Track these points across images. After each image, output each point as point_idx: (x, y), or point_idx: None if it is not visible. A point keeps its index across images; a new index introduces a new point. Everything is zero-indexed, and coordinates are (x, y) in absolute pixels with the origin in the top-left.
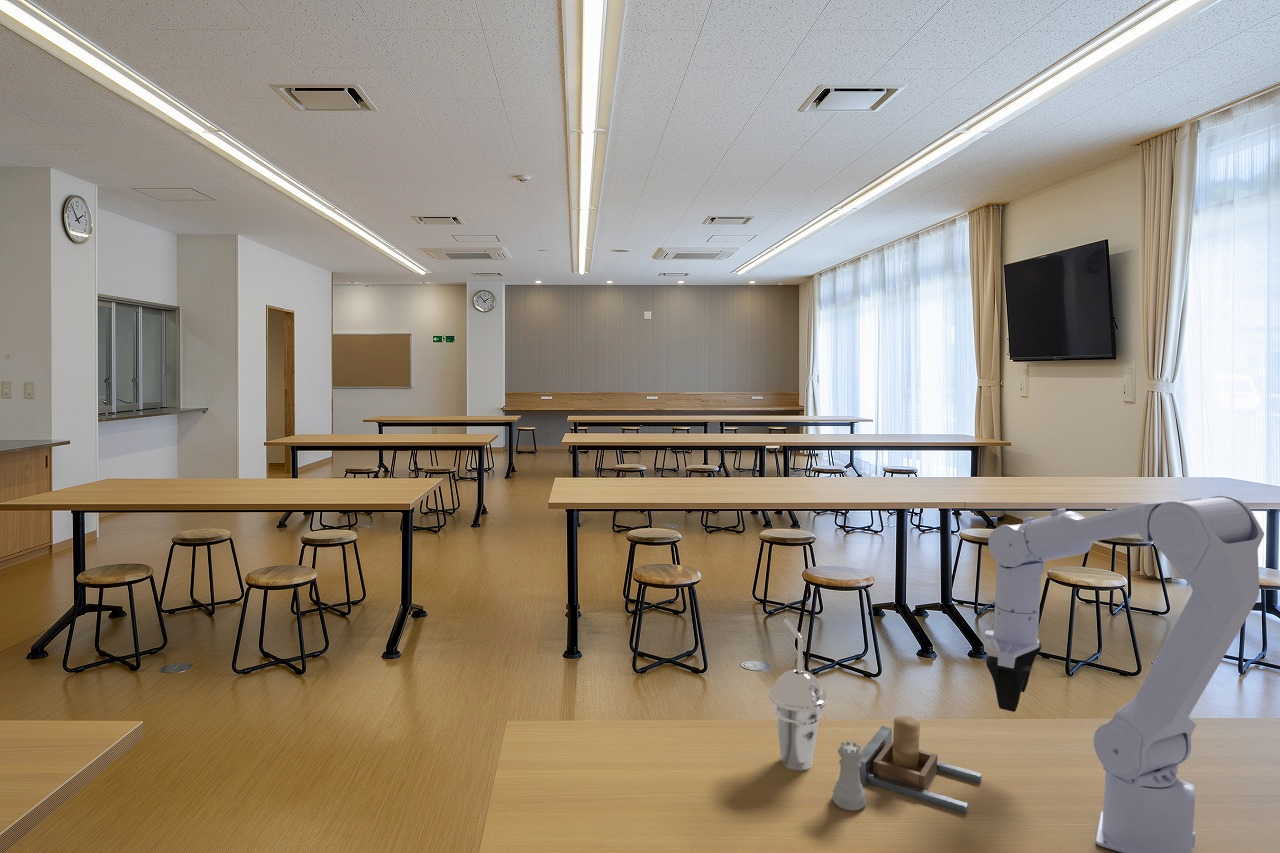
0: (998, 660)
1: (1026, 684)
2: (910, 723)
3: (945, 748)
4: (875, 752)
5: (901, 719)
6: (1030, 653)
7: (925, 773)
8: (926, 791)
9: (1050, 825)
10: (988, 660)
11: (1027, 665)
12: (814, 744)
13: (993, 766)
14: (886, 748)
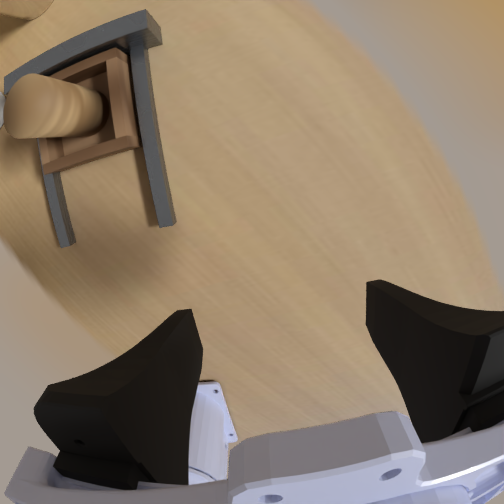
0: (20, 464)
1: (376, 344)
2: (21, 117)
3: (254, 113)
4: (46, 71)
5: (26, 90)
6: (425, 435)
7: (53, 169)
8: (51, 181)
9: (136, 339)
10: (42, 412)
11: (405, 391)
12: (14, 10)
13: (249, 218)
14: (85, 64)
